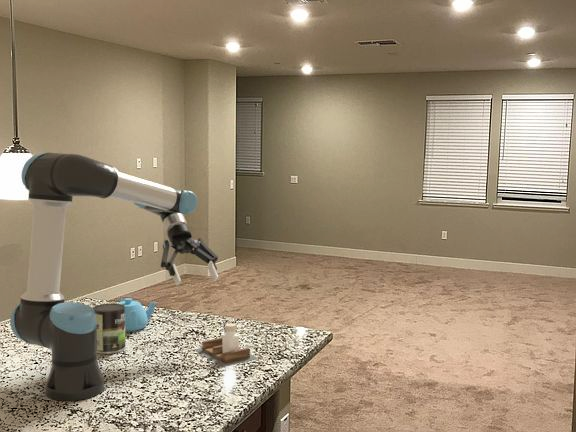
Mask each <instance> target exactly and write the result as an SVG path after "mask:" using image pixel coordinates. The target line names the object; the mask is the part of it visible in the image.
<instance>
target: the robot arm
mask: <svg viewBox="0 0 576 432" xmlns="http://www.w3.org/2000/svg"><path fill="white" fill-rule="evenodd" d="M21 182H22V184H23V186H24V187H25V189H26V190H28V201H29V202H30V203H31V204H32V206H33V211H32V223H31V236H30V237H31V238H30V251H29V261H28V263H29V264H28V274H27V275H28V276H27V286H26V287H27V289H26V291H25V292H24V293H23V294H21V296H20V302H19V303H17V305H16V306H15V308H14V309H12V312H11V313H10V320H9V321H10V328H11V331H12V333H13V334H14V336H15V337H16V338H17V339H19V340H21V341H23V342H25V343H27V344H28V345H29V344H30V345H35V346H39V347H43V348H46V349H50V351H51V367H50V370H49V373H48V378H47V381H46V384H45V395H46V396H47V398H49V399H51V400H55V401H61V402H72V401H73V402H74V401H80V400H81V401H82V400H85V399H88V398H89V399H90V398H92V397H94V396H96V395H99V394H101V392H102V391H104V389H105V378H104V376H103V373H102V371H101V368H100V365H99V362H98V357H97V356H98V353H97V321H96V316H95V311H94V309H93V307H92V306H90V305H89V304H86V303H83V302H73V301H68V302H67V301H65V300H66V299H65V296H64V294H62V293H61V291H60V289H61V278H62V277H61V276H62V265H63V263H62V262H63V251H64V250H63V249H64V239H65V227H66V215H67V214H66V211H67V208H68V206H70V205H71V204H72V203H73V197H95V198H100V199H108V198H115V199H119V200H122V201H127V202H131V203H133V204H134V205H135V206H137V207H138V208H140V209H143V210H144V211H148V212H150V213H152V214H155V215H157V216H159V217H160V220H161V222H162V224H163V228H164V230H165V232H166V235H167V237H168V240H167V239H165V240H164V242H163V243H162V248H163V252H162V255H161V262H160V268H161V269H163V268H165V270H166V271H168V273H169V276H170V277H172V278H173V281H174V283H175V286H179V285H180V284H181V282H182V279H181V276H180V274H179V272H178V268H177V266H176V264H175V263H174V262H175V259H176V258H177V255H178V253H179V254H181V255H183V254H191V255H194V256H196V257H197V258H199V259H200V260H202V261H203V262H205V263H206V264H207V266H206V267H207V269H208V271H209V274H210V276H211V279H212V281H213V282H214V283H215V282H217V280H218V279H219V278H220V277H219V275H218V272H217V270H218V267H217V265H216V262H217V261H218V259H219V257H218V255H217V254H216V253H215V252H213V250H212V249H211V248H209V246H207V244H206V243H205V242H204V241H203V239H202V238H201V237H198V239H193V237H192V233H191V230H190V228H189V226H188V223H187V220H186V218H185V216H184V215H190V214H192V213H194V212H195V211H196V209H197V206H198V197H197V195H196V194H195V192H194V191H190V190H186V189H185V190H183V189H182V190H181V189H178V188H174V187H172V186H171V187H170V186H168V185H165V184H160V183H157V182H155V181H151V180H147V179H144V178H140V177H138V176H135V175H131V174H128V173H125V172H121V171H118V169H117V168H116V167H115V166H113V165H111V164H107V163H104V162H102V161H99V160H98V159H97V160H96V159H94V158H90V157H88V156H86V155H81V154H77V153H62V152H61V153H60V152H45V153H43V152H41V153H37V154H34V155H32V156H31V157H30V158H29V159H27V160H26V162H25V163H24V164H23V167H22V170H21ZM170 248H172V249H173V250H174V251H173V253H172V255H171V257H170V259H169V261H168V257H169V256H168V255H169V251H170Z"/></svg>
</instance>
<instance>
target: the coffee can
mask: <svg viewBox="0 0 576 432" xmlns="http://www.w3.org/2000/svg"><path fill="white" fill-rule="evenodd" d="M92 308H93V309H94V311H95V316H96V321H97V354H100V355H101V354H102V355H112V354H118V353H121V352H123V351H125V350H126V348H127V347H126V332H125V306H124V305H122V304H117V303H115V302H114V303H112V302H111V303H103V304H102V303H101V304H97V305H95V306H93V307H92Z"/></svg>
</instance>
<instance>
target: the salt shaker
mask: <svg viewBox="0 0 576 432" xmlns="http://www.w3.org/2000/svg"><path fill="white" fill-rule="evenodd" d="M236 326H237V325H236V323H231V322H230V323H226V324H225V333H224V334H223V335H222V337H221V338H222V352H223V353H226V352H230V351H235V350H239V348H240V336H239V334H237V333H236V331H237V327H236Z"/></svg>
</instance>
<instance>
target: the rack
mask: <svg viewBox="0 0 576 432" xmlns="http://www.w3.org/2000/svg"><path fill="white" fill-rule="evenodd" d="M201 348H202V351H204V352H206V353H208V354H209V355H211V356H213V357H215V358H217V359H218V360H220V361H222V362H224V363H225V364H226V363H230V362H234V361H238V360H242V359H247V358H250V354H251V348H250V347H244V348H240V349H239V350H235V351H230V352H226V353H223V352H222V337H217V338H212V339H209V340H203V341H202V342H201Z"/></svg>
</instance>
